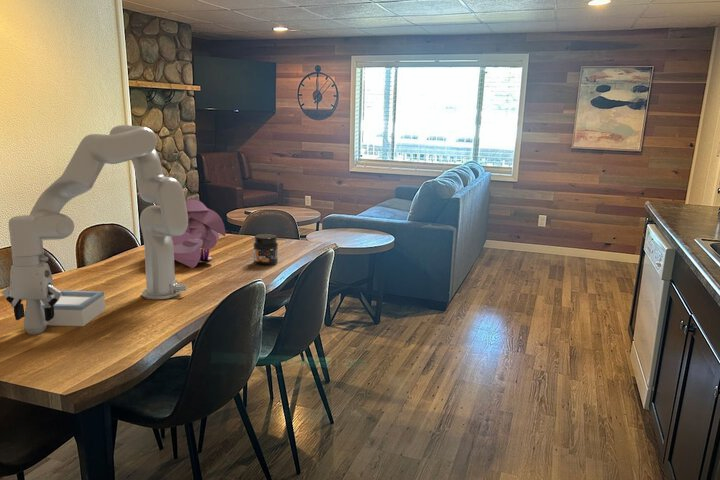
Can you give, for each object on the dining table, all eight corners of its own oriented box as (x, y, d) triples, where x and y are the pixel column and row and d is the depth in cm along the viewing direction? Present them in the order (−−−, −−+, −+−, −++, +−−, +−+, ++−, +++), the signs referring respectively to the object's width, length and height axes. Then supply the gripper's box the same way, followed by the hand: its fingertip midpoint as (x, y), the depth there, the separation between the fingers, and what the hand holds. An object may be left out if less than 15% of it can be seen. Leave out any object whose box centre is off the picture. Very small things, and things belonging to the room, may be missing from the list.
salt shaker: (51, 328, 157) (47, 285, 154) (41, 335, 151) (36, 292, 148) (31, 327, 157) (26, 285, 154) (20, 335, 151) (15, 291, 148)
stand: (105, 309, 173) (103, 291, 171) (83, 326, 159) (81, 306, 158) (61, 308, 173) (60, 290, 171) (36, 324, 159) (34, 305, 157)
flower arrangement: (231, 269, 240) (241, 207, 239) (208, 273, 217) (219, 204, 216) (160, 255, 246) (170, 194, 245) (130, 257, 223) (140, 190, 222)
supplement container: (248, 264, 231) (248, 237, 228) (260, 258, 241) (260, 232, 238) (270, 267, 228) (270, 239, 225) (282, 261, 238) (282, 235, 235)
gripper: (67, 257, 153) (72, 315, 157) (6, 255, 153) (12, 313, 157) (52, 264, 146) (58, 325, 150) (-12, 262, 146) (-5, 322, 149)
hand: (34, 318), depth 153 cm, fingers open, 7 cm apart
